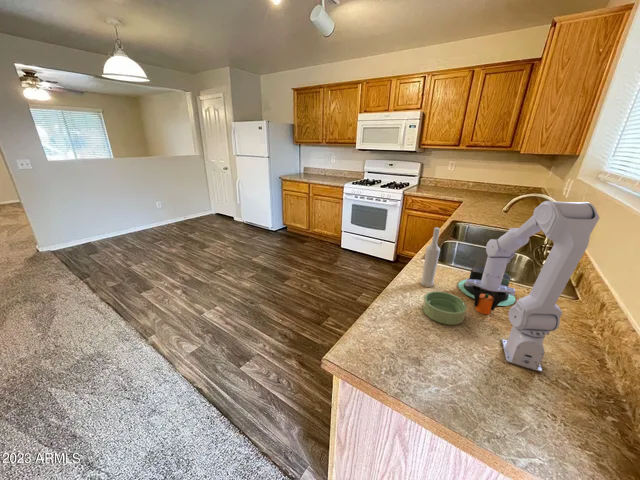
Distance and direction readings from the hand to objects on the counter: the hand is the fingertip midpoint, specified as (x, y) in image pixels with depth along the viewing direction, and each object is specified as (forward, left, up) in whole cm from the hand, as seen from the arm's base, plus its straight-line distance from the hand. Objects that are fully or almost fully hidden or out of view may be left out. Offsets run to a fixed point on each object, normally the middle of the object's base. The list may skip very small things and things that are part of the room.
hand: (483, 307), depth 95 cm
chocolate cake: (+15, -2, -2) cm, 15 cm away
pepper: (0, 0, -1) cm, 1 cm away
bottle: (+10, +20, -2) cm, 22 cm away
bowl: (-9, +13, -1) cm, 16 cm away
